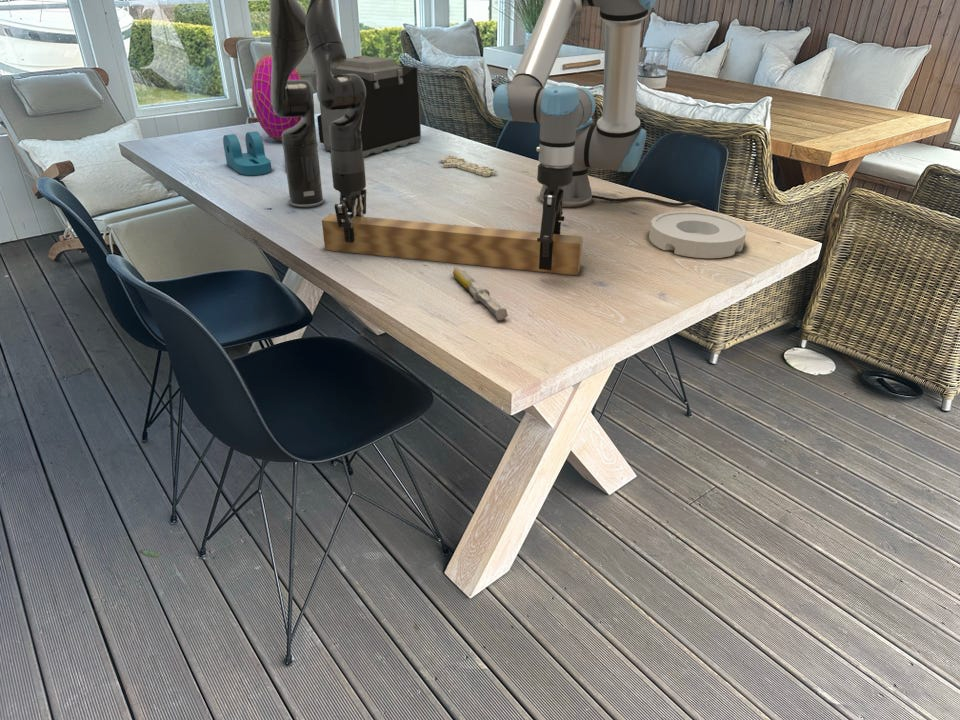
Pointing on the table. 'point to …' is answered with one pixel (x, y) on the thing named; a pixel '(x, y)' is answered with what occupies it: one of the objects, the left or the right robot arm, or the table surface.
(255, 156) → the camera mount
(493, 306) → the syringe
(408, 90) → the cooler box
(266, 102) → the decorative egg
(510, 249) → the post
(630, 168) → the right robot arm
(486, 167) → the decorative sign
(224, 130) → the table surface
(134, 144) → the table surface
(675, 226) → the ashtray
